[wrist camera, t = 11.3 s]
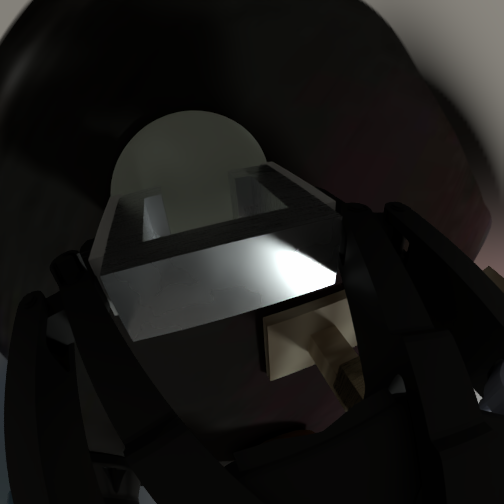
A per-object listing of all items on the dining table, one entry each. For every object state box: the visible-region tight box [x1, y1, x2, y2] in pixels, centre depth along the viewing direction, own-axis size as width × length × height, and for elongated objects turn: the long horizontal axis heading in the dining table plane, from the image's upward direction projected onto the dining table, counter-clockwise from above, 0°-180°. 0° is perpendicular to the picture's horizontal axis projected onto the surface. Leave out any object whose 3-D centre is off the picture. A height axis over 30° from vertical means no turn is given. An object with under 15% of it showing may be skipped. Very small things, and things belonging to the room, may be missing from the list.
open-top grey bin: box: [100, 164, 343, 341], centre depth 12 cm, size 8×3×7 cm, turn 94°
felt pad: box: [111, 110, 267, 234], centre depth 16 cm, size 10×10×1 cm
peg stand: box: [263, 266, 504, 412], centre depth 18 cm, size 12×22×20 cm, turn 4°
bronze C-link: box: [333, 356, 365, 410], centre depth 15 cm, size 8×3×7 cm, turn 94°
